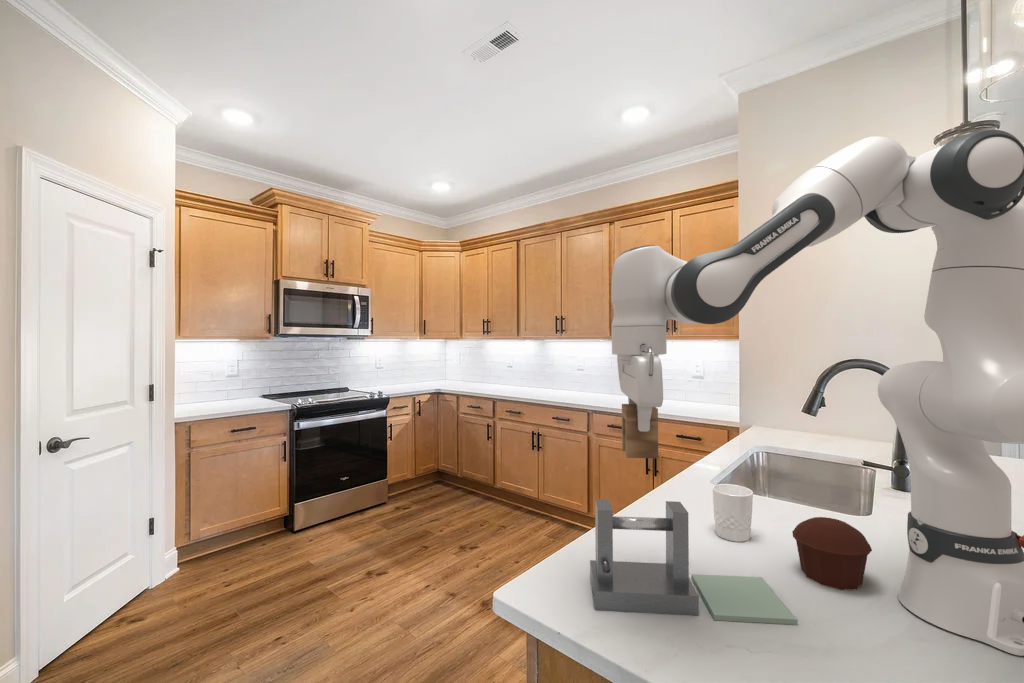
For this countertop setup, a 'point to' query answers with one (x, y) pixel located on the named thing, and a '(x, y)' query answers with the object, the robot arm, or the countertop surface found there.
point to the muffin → (832, 552)
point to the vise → (643, 566)
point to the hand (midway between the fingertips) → (639, 426)
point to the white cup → (732, 511)
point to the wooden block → (639, 434)
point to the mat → (742, 599)
